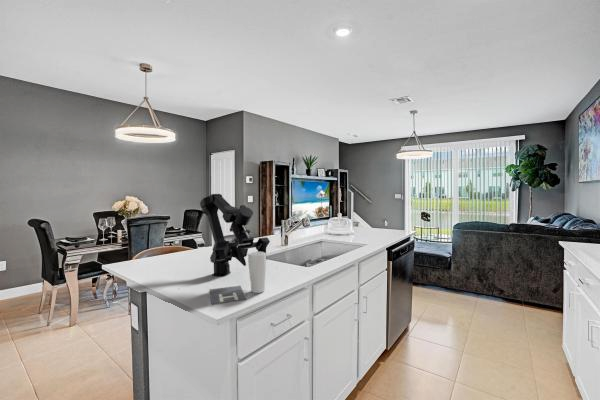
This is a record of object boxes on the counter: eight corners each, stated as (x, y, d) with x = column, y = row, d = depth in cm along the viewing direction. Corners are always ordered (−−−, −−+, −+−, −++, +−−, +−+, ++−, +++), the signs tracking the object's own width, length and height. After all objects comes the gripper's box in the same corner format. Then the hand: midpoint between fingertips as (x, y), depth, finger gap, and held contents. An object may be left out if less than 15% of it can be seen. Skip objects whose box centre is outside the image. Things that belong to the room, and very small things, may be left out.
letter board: (210, 290, 118) (210, 289, 118) (240, 286, 122) (240, 285, 122) (211, 304, 103) (211, 303, 103) (246, 299, 107) (246, 298, 107)
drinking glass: (249, 288, 118) (249, 251, 118) (266, 288, 119) (266, 251, 118) (248, 294, 112) (247, 255, 111) (266, 293, 112) (265, 254, 112)
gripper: (253, 241, 134) (267, 270, 126) (214, 247, 122) (227, 279, 114) (262, 225, 128) (278, 254, 120) (222, 230, 116) (236, 262, 108)
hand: (255, 263), depth 116 cm, fingers open, 9 cm apart
